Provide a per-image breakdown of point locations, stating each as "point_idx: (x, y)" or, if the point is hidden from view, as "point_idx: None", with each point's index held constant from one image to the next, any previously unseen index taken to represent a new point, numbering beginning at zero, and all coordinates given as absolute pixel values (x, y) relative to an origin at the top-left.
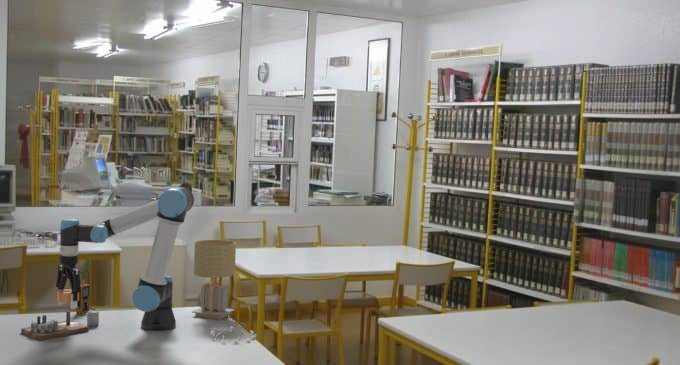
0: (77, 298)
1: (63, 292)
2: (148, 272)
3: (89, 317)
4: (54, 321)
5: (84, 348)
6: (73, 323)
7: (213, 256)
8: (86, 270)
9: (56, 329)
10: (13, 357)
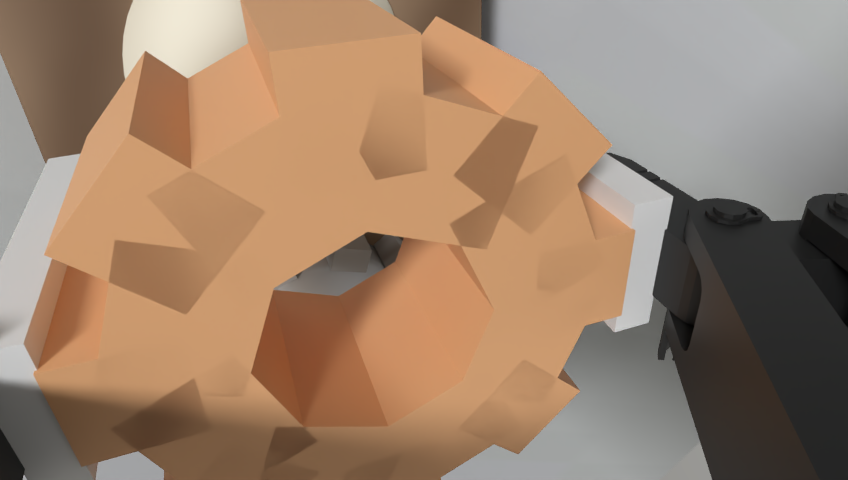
0: (646, 169)
1: (446, 441)
2: None
3: None
4: (343, 273)
5: (806, 167)
6: None
7: None
8: None
9: (398, 237)
10: (642, 474)
